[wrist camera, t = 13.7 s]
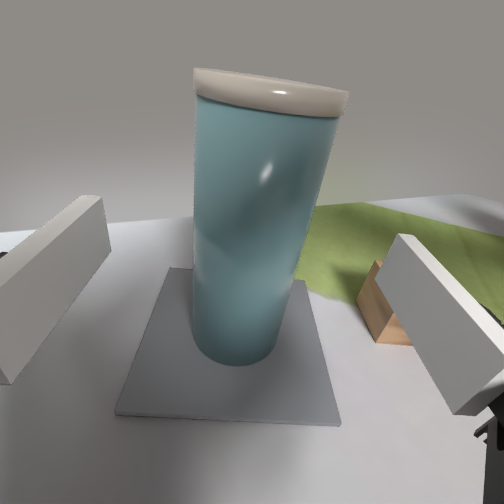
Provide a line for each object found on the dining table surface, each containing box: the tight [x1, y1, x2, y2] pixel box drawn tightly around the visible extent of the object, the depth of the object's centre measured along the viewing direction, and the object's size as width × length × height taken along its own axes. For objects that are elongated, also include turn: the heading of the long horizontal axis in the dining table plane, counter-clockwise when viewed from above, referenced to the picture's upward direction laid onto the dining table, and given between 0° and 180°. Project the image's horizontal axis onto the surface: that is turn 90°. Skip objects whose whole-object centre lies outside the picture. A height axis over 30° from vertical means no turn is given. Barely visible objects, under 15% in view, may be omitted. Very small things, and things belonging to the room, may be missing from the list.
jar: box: [192, 68, 349, 366], centre depth 20 cm, size 8×8×20 cm
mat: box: [115, 267, 341, 427], centre depth 26 cm, size 16×16×1 cm
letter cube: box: [356, 260, 413, 346], centre depth 29 cm, size 6×6×6 cm
